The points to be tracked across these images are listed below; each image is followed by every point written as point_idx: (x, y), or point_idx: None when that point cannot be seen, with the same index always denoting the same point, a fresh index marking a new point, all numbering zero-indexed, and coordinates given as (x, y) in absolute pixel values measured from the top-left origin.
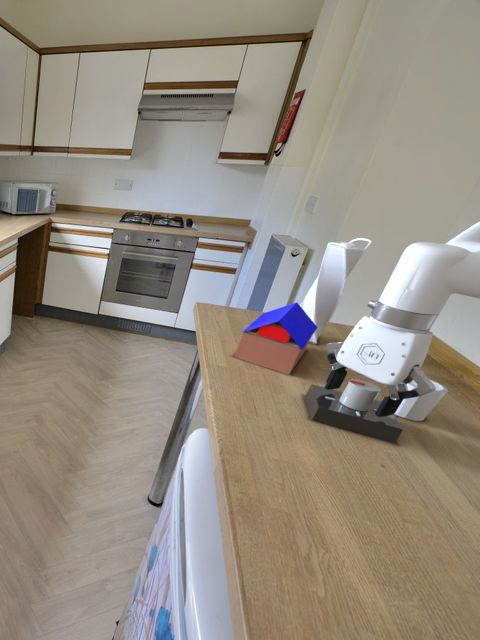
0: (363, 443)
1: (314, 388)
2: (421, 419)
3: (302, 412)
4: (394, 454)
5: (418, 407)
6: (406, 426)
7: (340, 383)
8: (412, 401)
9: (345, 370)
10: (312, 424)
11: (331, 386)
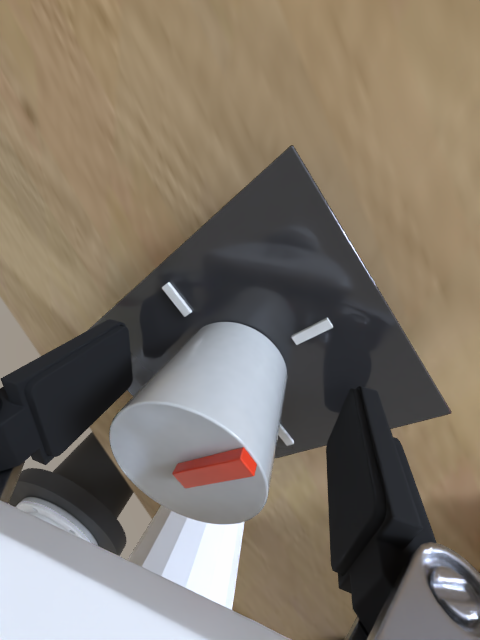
0: (131, 206)
1: (416, 374)
2: None
3: (360, 187)
4: (80, 243)
5: None
6: None
7: (330, 467)
8: (173, 518)
9: (352, 590)
10: (276, 114)
11: (349, 410)
